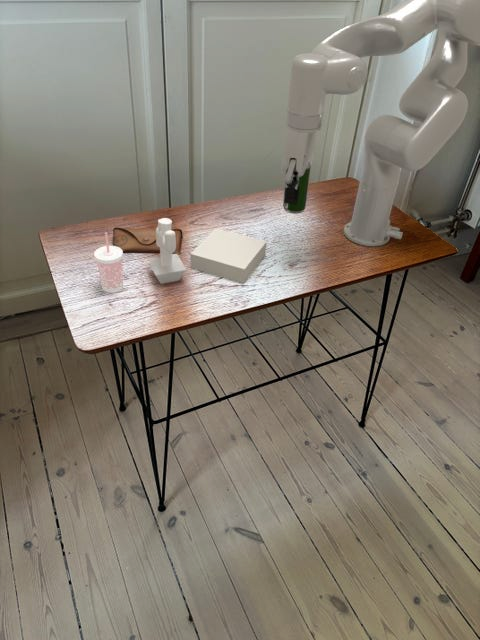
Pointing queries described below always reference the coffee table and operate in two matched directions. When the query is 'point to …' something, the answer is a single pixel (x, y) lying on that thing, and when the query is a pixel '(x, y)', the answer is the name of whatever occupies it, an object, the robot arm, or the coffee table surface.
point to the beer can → (302, 193)
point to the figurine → (166, 254)
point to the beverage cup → (110, 266)
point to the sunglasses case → (141, 240)
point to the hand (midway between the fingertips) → (295, 197)
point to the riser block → (228, 255)
